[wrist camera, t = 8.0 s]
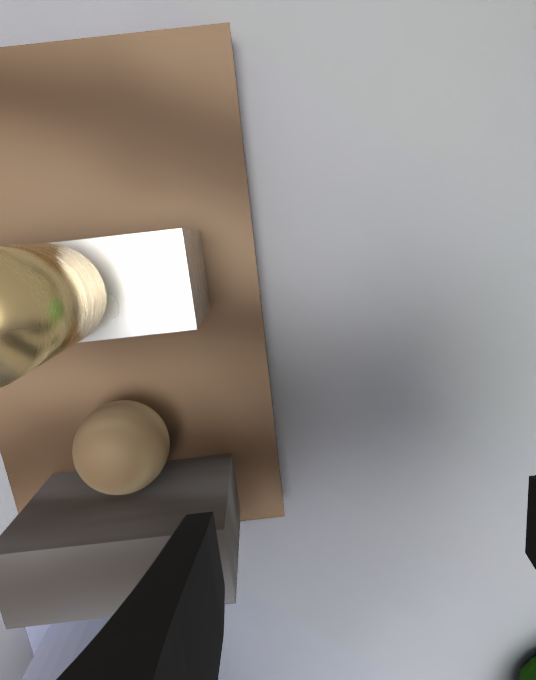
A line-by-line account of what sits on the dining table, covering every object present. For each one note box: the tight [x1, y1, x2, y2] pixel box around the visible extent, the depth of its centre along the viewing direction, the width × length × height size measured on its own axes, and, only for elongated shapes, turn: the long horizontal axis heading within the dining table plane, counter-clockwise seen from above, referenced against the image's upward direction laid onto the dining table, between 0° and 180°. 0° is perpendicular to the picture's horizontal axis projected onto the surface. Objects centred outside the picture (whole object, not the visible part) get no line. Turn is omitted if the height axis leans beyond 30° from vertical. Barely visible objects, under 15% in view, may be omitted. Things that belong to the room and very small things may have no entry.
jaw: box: [0, 228, 210, 388], centre depth 13 cm, size 3×8×8 cm, turn 96°
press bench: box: [0, 23, 285, 629], centre depth 16 cm, size 20×12×6 cm, turn 6°
